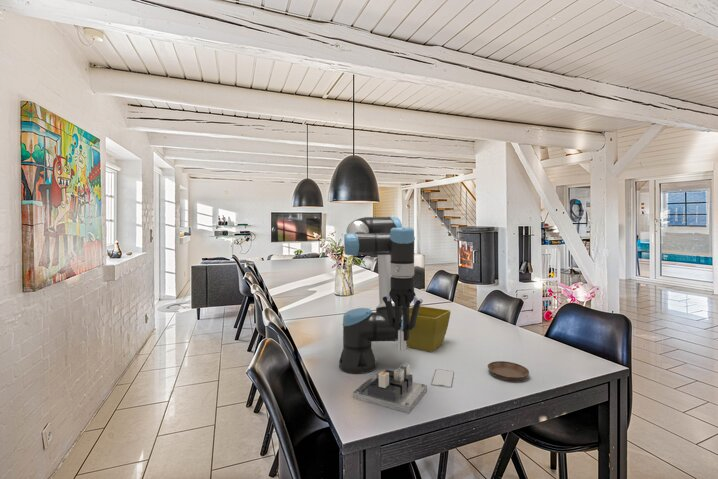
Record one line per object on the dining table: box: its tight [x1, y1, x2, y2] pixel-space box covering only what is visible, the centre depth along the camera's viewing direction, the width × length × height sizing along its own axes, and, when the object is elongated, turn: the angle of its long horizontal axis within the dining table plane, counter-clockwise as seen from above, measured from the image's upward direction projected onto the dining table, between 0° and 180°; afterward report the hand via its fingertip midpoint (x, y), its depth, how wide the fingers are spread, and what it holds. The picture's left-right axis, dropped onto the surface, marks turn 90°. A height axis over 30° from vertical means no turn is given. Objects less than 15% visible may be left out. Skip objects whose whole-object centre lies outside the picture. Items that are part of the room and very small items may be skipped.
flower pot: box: [406, 305, 451, 353], centre depth 171 cm, size 19×19×17 cm
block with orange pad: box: [378, 371, 389, 388], centre depth 118 cm, size 2×3×4 cm
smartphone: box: [430, 368, 455, 389], centre depth 136 cm, size 7×1×15 cm
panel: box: [352, 362, 428, 414], centre depth 123 cm, size 20×17×9 cm
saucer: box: [487, 360, 530, 382], centre depth 139 cm, size 15×15×3 cm
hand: (402, 349), depth 114 cm, fingers closed
